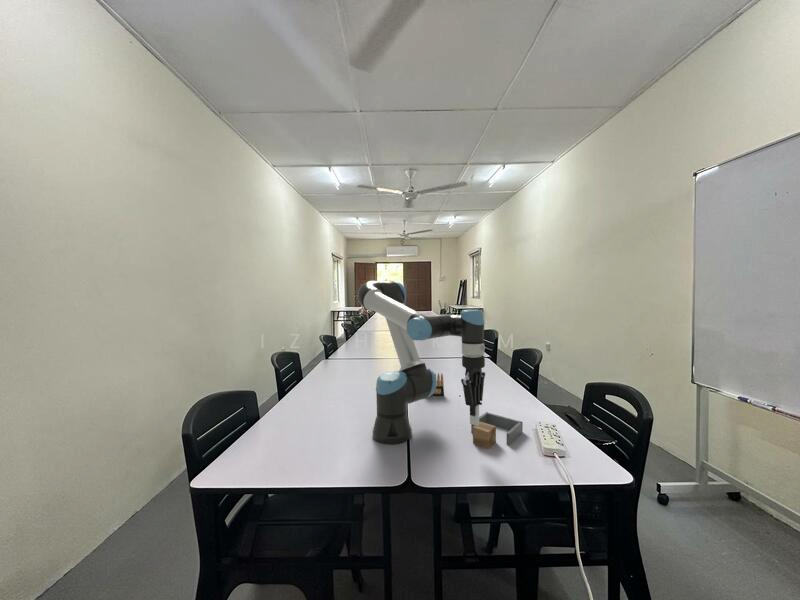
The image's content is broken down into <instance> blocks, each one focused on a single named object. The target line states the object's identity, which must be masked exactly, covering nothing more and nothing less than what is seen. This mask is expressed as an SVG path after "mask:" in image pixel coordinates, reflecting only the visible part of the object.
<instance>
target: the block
mask: <svg viewBox="0 0 800 600" xmlns="http://www.w3.org/2000/svg"><path fill="white" fill-rule="evenodd" d="M496 443H497V426H496V425H493V424H489V423H483V422H480V423H479V425H478V426H476V425H475V426H474V427H473V433H472V444H475V446H476V445H477V446H479V447H482V448H485V449H488V450H489V449H490V448H492V446H494V445H495V444H496Z"/></svg>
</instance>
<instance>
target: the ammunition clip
mask: <svg viewBox="0 0 800 600" xmlns="http://www.w3.org/2000/svg"><path fill="white" fill-rule="evenodd" d="M434 374H435V376H436V380H437V386H436V389H435V392H434V393H433V395H431V396H430V397H444V396H445V389H444V387H445V386H444V375H443V373H442V372H441V374H440V373H434Z"/></svg>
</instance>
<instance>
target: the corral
mask: <svg viewBox="0 0 800 600" xmlns="http://www.w3.org/2000/svg"><path fill="white" fill-rule="evenodd" d="M480 422H483V423H487V424H490V425H493V426H496V427H500V428H504V429H507V430H508V431H507V432H506V445H508V446H510V445H511V444H512V443H513V442H514V441H516V439H517V438H518V437H519V436H520V435H522V433H523V427H524V426H523V425H524V424H523V421H521V420H518V419H514V418H510V417H506V416H503V415H502V416H501V415H498V414H494V413H490V412H487V411H486V412H484V413H483V414H481V415H479V423H480ZM470 426H471V427H470V428H471V429H470V430H471V431H470V433H472V434H473V427H474V426H475V425H473V424H470Z"/></svg>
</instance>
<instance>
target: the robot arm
mask: <svg viewBox="0 0 800 600" xmlns="http://www.w3.org/2000/svg"><path fill="white" fill-rule="evenodd" d="M356 294H357V295H356V298H357V301H358V304H360V305H361V306H362V308H364V309H366V310H367V311H370V312H373V311H374V312H376V313H377V314H379V315H381V316H382V317H384V318H385V321H386V323H387V327H388V331H389V333H390V337H391V339H392V342H393V345H394V349H395V352H396V355H397V358H398V361H399V364H400V367H399V370H394V371H387V372H384V373H382V374H381V375H379V376H378V377H377V379H376V387H375V391H376V395H375V396H376V416H375V421H374V424H373V427H372V438H373V440H375V441H376V442H378V443H380V444H385V445H397V444H402V443H405V442H407V441H409V440H410V439H411V438H412V435H413V432H412V431H413V429H412V426H411V424H410V420H409V416H408V405H409V404H412V403H416V402H418V401H422V400H425V399H427V398H429V397H432V396H431V395H433V393H434V392H435V389H436V386H437V375H436V376H435V374H436V373H435V372H434V371H433V370H432V369H431V368H427V366H426V363H425V362H424V361H422V360H421V359H420V355H419V353H418V351H417V347H416V344H415V341H426V340H430V339H436V338H441V337H443V338H445V337H448V336H449V337H450V336H453V337H461V354H462V356H461V364H462V365H461V366H462V367H463V368H465V373H464V375H465V377H464V378H461V380H460V383H461V384H462V389H463V394H464V401H465V405H466V406H469V424H470V425H471V424H473V425H476V426H478V425H479V417H480V406H482V405H483V402H482V401H483V396H484V386H485V378H486V377H485V376H486V372H485V371H482V369H483V368H485V366H486V365H485V364H486V357H485V356H484V355H485V349H486V346H485V318H484V312H483V310H481V309H463V310H461V312H460V314H459V315H458V314H448V313H445V314H443V313H442V314H438V315H433V316H427V315H425V314H422V313H420V312H418V311H417V310H415V309H414V308H411V307H409V306H407V305H406V301H407V296H408V295H407V290H406V288H405V286H404V285H403V284H402V283H400V282H399V281H394V280H384V281H383V280H369V281H366V282H364V283H362V284H361V285H360V287H358V290H357V293H356Z"/></svg>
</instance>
